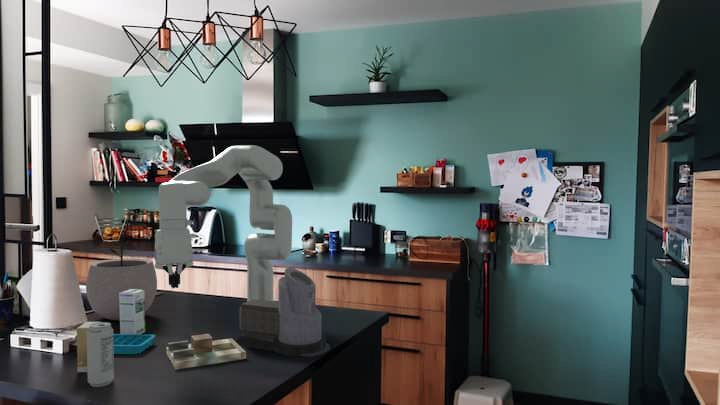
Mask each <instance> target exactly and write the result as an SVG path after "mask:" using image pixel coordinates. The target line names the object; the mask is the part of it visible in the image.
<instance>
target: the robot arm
mask: <svg viewBox="0 0 720 405" xmlns="http://www.w3.org/2000/svg"><path fill="white" fill-rule="evenodd" d="M283 168H284V166H283V162H282V161H281V159H280V158H279V157H278V156H277V155H275V154H273V153H271V152H270V151H268V150H267V149H265V148H264V147H261V146H259V145H252V144H251V145H250V144H248V145H247V144H245V145H243V144H241V145H231V146H229V147H227V148H226V149H224V151H222V152H221V153H219V154H218V155H217V156H216V157H214V158H213V159H211V160H210V161H208V162H205V163H202V164H200V165H197V166H195V167H192V168H189V169H187V170H185V171H182V172H180V173H178V174H177V175H176V176H174V177H173V178H171V179H170V180H169V181H168V182H162V183H161V184H159V186H158V206H159V207H158V208H159V209H158V211H159V212H158V214H159V219H158V220H159V229H157V230H156V232H155V240H154V261H155V263H154V268H155V270H164V271H165V272H166V273H167V274H168V285H169V286H170V287H171V289H175V288H176V289H178V288H179V285H181V274H182V273H183V271H184V270H185V269H186V268H189V267H190V268H191V267H192V266H194V261H193V257H194V256H193V255H194V254H193V244H192V238H191V232H190V229H189V228H188V226H191V225H192V224H193V221H192V219H188V218H187V217H188V216H187V214H188V213H187V212H188V211H187V206H188V207H200V206H203V205H206V204H207V203H208V202H209V200H210V198H211V194H212V192H211V188H214V187H219V186H222V185H224V184H226V183H227V182H229V181H230V180H231V179H232V178H233V177H234V176H236V175H237V174H239V176H240V177H241V178H242V180H243V181H244V182H245V183H246V186H247V187H248V191H249V212H248V213H249V216H248V218H249V224H250V226H251V228H253V229H255V230H263V231H264V230H265V231H274V233H264V232H263V233H261V232H259V233H258V232H256V233H252V234H249V235H248V236H247V237H246V238H245V241H244V244H243V245H244V254H245V259H246V268H247V270H246V272H247V274H246V276H247V280H246V284H247V287H246V288H247V292H246V293H247V300H246V302H248V301H251V300H253V299H257V300H266V301H274V268H273V266H272V263H271V262H270V261H286V260H287V259H288V258H289V257H290V256H291V254H292V244H293V215H292V211H291V210H290V208H289V206H287V205H285V204H279V203H276V204H275V203H274V191H273V187H272V185H271V183H270V181H275V180H276V181H277V180H278V179H279V178H281V176H282V174H283V170H284V169H283ZM173 265H175V269H174V270H175V271H174V270H173Z"/></svg>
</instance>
